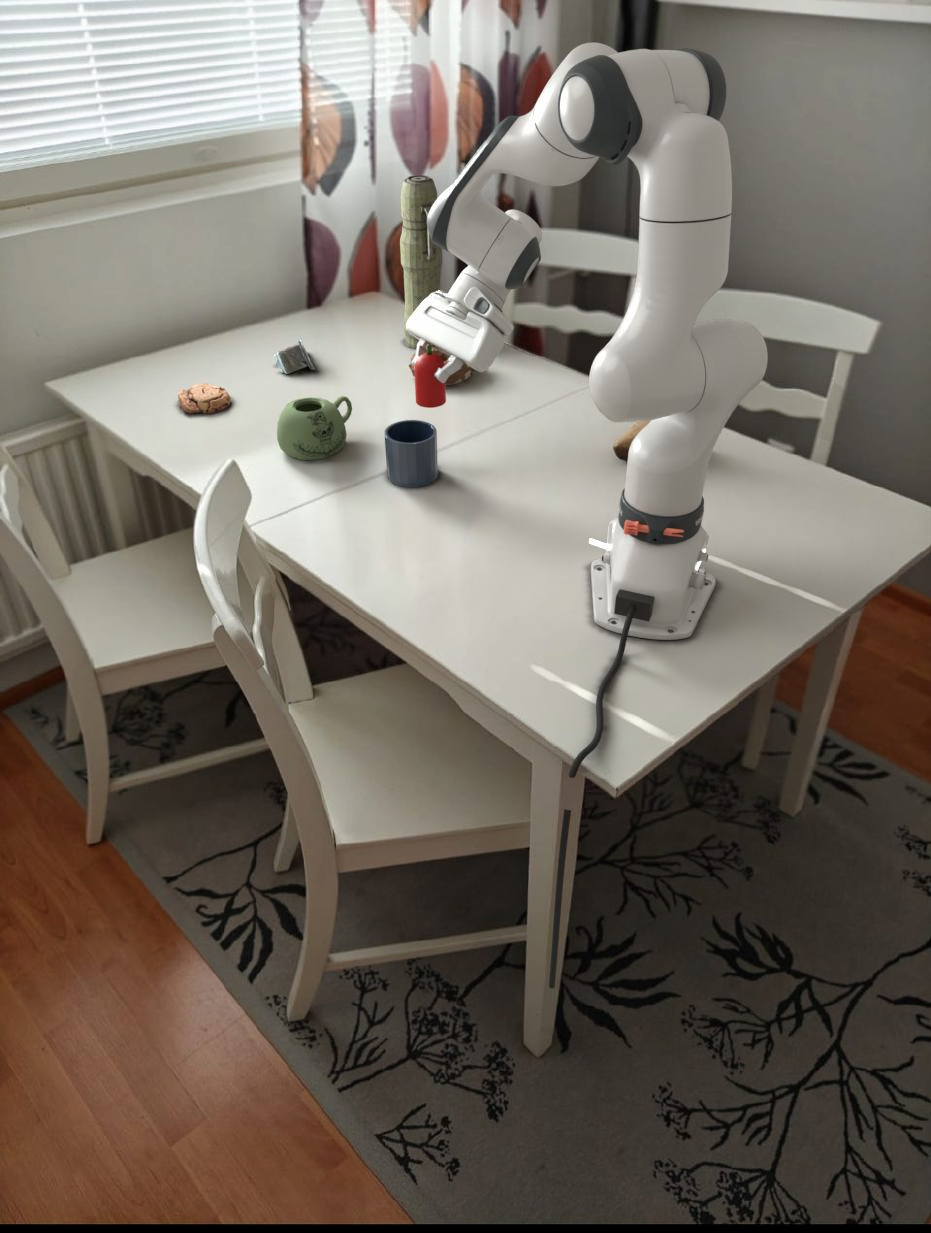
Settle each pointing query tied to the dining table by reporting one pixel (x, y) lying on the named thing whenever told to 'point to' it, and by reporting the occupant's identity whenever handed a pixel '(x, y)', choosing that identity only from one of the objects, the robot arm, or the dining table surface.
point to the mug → (312, 428)
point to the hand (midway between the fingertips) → (426, 373)
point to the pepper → (429, 380)
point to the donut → (455, 377)
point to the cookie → (204, 399)
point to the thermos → (418, 247)
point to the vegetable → (627, 440)
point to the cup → (411, 453)
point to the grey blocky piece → (293, 358)
